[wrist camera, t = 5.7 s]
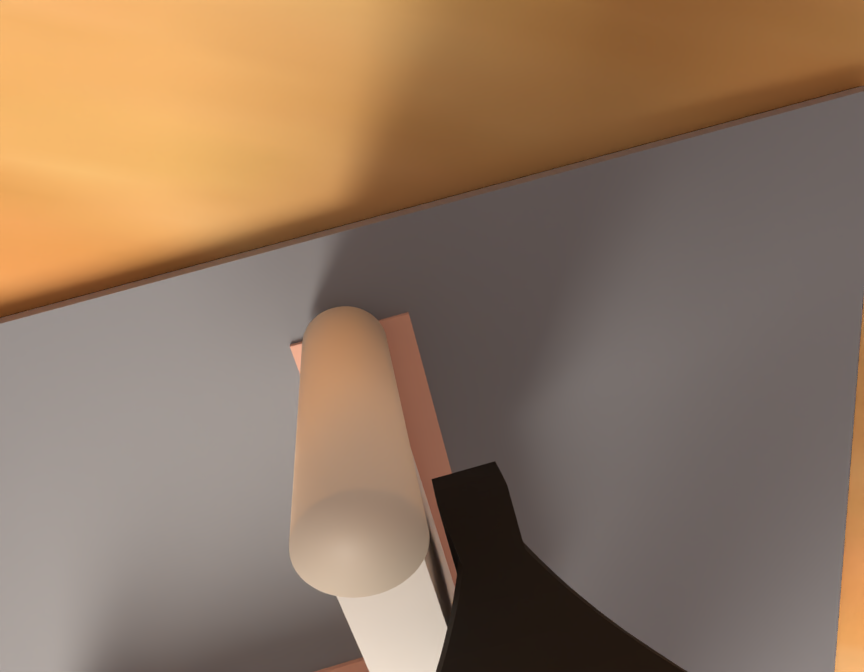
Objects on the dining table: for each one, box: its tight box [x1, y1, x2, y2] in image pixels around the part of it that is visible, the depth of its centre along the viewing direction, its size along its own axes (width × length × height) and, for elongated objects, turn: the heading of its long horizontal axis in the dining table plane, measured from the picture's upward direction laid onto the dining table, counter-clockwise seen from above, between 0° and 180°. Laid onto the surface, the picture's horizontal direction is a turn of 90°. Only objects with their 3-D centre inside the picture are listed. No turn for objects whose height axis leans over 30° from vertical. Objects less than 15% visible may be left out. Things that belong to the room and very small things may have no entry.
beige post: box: [289, 306, 455, 672], centre depth 12 cm, size 12×2×5 cm, turn 14°
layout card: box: [0, 86, 864, 672], centre depth 16 cm, size 22×20×1 cm
